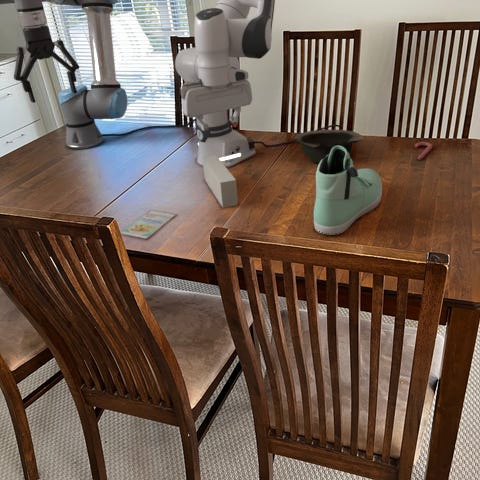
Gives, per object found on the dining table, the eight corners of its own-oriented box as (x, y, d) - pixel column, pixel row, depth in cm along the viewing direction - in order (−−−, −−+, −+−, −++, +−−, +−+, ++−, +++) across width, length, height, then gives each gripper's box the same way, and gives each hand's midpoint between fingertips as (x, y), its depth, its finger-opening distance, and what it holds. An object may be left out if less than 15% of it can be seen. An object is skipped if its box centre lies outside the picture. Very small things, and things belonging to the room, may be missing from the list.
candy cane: (403, 158, 167) (404, 154, 167) (417, 144, 177) (418, 140, 177) (421, 161, 164) (421, 157, 163) (434, 146, 174) (435, 142, 173)
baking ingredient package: (120, 232, 135) (151, 209, 146) (120, 233, 135) (151, 210, 146) (145, 237, 131) (175, 214, 143) (146, 239, 131) (175, 215, 143)
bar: (204, 180, 163) (202, 157, 159) (218, 177, 164) (216, 154, 160) (222, 207, 145) (220, 182, 141) (237, 204, 146) (235, 179, 142)
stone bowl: (320, 174, 160) (319, 147, 155) (281, 157, 180) (279, 132, 176) (378, 156, 168) (378, 130, 164) (334, 141, 189) (333, 118, 184)
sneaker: (389, 187, 148) (396, 123, 138) (356, 242, 123) (361, 168, 112) (346, 181, 154) (350, 119, 144) (306, 232, 129) (307, 161, 118)
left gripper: (-5, 33, 136) (18, 108, 147) (79, 21, 148) (94, 90, 159) (-12, 31, 141) (11, 103, 152) (70, 19, 153) (86, 87, 164)
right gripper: (184, 85, 122) (190, 137, 130) (253, 71, 130) (256, 121, 137) (174, 80, 127) (181, 131, 134) (242, 68, 135) (245, 116, 142)
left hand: (54, 97), depth 155 cm, fingers open, 13 cm apart
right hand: (219, 126), depth 136 cm, fingers open, 8 cm apart
